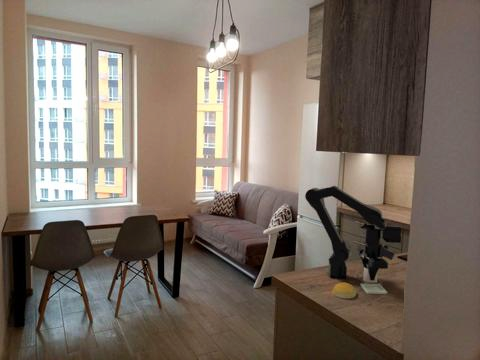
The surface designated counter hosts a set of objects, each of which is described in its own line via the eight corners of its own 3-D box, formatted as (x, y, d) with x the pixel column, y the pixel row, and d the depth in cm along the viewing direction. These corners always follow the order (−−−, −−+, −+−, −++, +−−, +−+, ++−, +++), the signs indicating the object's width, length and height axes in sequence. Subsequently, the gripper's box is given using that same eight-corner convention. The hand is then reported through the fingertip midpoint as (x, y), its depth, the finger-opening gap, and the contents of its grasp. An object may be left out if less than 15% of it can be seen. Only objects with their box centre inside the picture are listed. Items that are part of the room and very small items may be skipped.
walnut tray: (363, 285, 139) (364, 282, 139) (357, 278, 147) (357, 276, 147) (382, 286, 139) (382, 283, 139) (375, 279, 147) (375, 276, 147)
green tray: (367, 294, 131) (367, 291, 131) (360, 286, 139) (360, 283, 139) (387, 294, 131) (387, 291, 131) (379, 287, 139) (379, 284, 139)
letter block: (366, 283, 141) (367, 271, 140) (363, 279, 145) (364, 267, 144) (376, 283, 141) (377, 271, 140) (373, 279, 145) (373, 267, 144)
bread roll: (330, 297, 128) (330, 286, 128) (335, 288, 136) (335, 278, 136) (353, 302, 125) (354, 291, 124) (357, 293, 133) (358, 282, 132)
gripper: (403, 247, 132) (400, 288, 133) (383, 234, 151) (381, 270, 152) (373, 246, 132) (370, 287, 134) (357, 234, 151) (355, 269, 152)
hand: (370, 278), depth 143 cm, fingers closed on letter block, 4 cm apart
